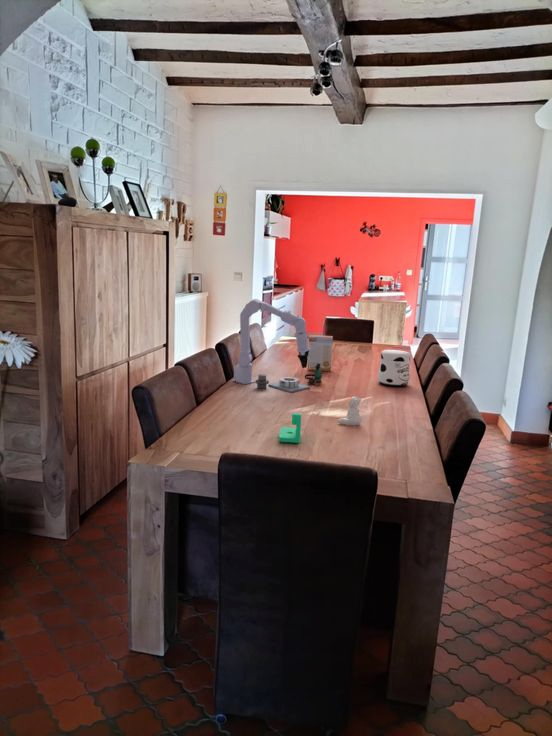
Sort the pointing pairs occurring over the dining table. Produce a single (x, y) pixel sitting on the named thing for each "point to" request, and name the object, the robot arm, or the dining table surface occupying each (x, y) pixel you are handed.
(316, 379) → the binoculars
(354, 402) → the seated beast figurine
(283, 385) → the segmented white ring
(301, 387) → the mount plate
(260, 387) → the grey rounded knob
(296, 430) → the camera mount
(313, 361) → the cracker box
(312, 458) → the dining table surface
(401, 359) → the milk container
